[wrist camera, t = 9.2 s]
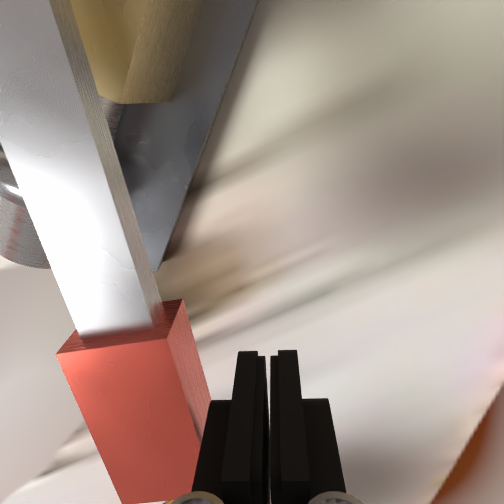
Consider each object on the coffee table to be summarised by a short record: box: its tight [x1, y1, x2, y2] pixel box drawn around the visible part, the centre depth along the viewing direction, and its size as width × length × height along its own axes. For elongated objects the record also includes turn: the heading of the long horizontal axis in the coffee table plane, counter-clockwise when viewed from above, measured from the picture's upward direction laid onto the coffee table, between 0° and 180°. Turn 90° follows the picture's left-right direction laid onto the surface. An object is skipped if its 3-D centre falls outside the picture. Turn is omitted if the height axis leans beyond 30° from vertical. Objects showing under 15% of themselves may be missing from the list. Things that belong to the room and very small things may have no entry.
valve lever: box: [0, 0, 211, 504], centre depth 8 cm, size 3×15×2 cm, turn 11°
